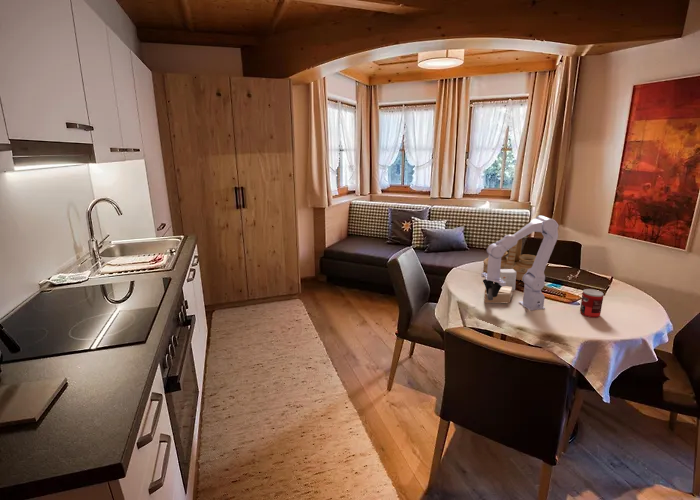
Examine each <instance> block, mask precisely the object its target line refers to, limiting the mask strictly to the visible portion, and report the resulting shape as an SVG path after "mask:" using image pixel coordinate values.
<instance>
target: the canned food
mask: <svg viewBox="0 0 700 500" xmlns="http://www.w3.org/2000/svg"><path fill="white" fill-rule="evenodd" d="M582 290H583V291H582V296H581V301H580V307H579V308H580V309H579V312H580V314H581V315H582V316H585V317H588V318H598V317H600V316H601V313H602V307H603V302H604V295H605V294H604V293H603V292H604V291H600V290H599V289H598V290H597V289H593V288H586V289H585V288H584V289H582Z"/></svg>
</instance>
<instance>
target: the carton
mask: <svg viewBox="0 0 700 500" xmlns="http://www.w3.org/2000/svg"><path fill="white" fill-rule="evenodd" d="M485 293H487V292H486V287H485V289H484V298H483V299H485ZM498 293H503V294H510V300H511V298H512V294H513V290H512V287H508V286H502V287H501V288H500V290H499V292H498Z"/></svg>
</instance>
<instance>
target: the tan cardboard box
mask: <svg viewBox="0 0 700 500" xmlns="http://www.w3.org/2000/svg"><path fill="white" fill-rule="evenodd" d="M484 295H485V298H484V303H485V304H486V303H488V304H489V303H491V304H492V303H494V304H509V303H510V301H511V299H510V294H503V293H498V295H497V297H493V296H492V288H489V289H488V294H487V293H485V292H484Z"/></svg>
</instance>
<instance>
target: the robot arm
mask: <svg viewBox="0 0 700 500" xmlns="http://www.w3.org/2000/svg"><path fill="white" fill-rule="evenodd" d="M559 226H560V225H559V224H558V222H557V221H556V220H555V219H553V218H550V217H547V216H545V215H538V216H536V217H534V218H532V219H531V220H530V222H529V223H527V224H525V225H524V226H522V228H520V229H519V230H518V231H516V232H515V233H514V234H510V233H509V234H506V235H504V236H503V237H502V238H501V239H499V240H497V241H495V242H494V243H490V244H489V245H488V247H487V248H486V253H487V254H488V257H487V258H488V269H487V273H486V272H481V274H480V275H481V278H484V279H482V283H483V285H484V287H485V288H486V292H487V294H488V289H489V288H492V296H493V297H497V295H498V292H499V290H500V288H501V287H502V286H506V282H505V281H503V280H502V279H501V278H500V267H501V257H502V256H503V255H504V253H505V252H506V251H507V252H508V251H509V249H510V248H512V247H513V246H515V245H516V244H517V241H518V240H520V239H521V238H522V239H523V238H525V237H527V236H528V235H530V234H533V233H534V232H535V233H536V232H537V233H540V234H541V235H542V236H543V239H542V240H541V243H540V246H539V249H538V251H537V253H536V255H535V256H536V258H535V261H534V263H533V266H532V268H530V269H528V270H527V272H526V274H525V275H524V276H523V278H522V280H523V281H522V282H523V283H524V285H523V286H524V288H523V296H522V300H520V301H518V303H519V304H520V305H521V306H523V307H525V308H526V309H528V311H535V310H545V309H546V307H545V298H546V297H545V294H544V293H543V292H542V290H543V288H544V287H545V280H546V275H545V269H546V267H547V266H548V265H547V264H548V262H549V260H550V257H551V256H552V253H553V251H554V248H555V245H556V244H557V241H558V238H559V232H558V231H559Z"/></svg>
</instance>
